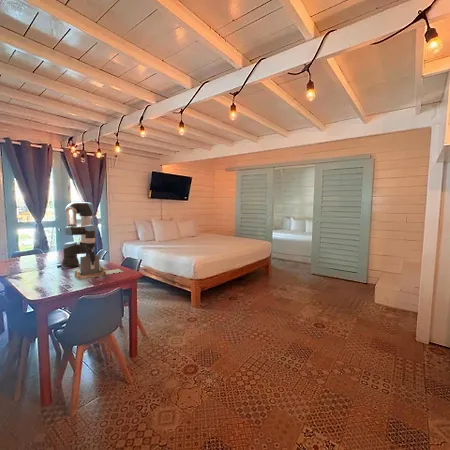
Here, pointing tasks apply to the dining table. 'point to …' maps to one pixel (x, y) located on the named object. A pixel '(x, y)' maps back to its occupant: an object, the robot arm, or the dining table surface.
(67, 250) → the robot arm
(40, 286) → the dining table surface
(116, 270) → the mat
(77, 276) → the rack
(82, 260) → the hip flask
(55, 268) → the dining table surface
